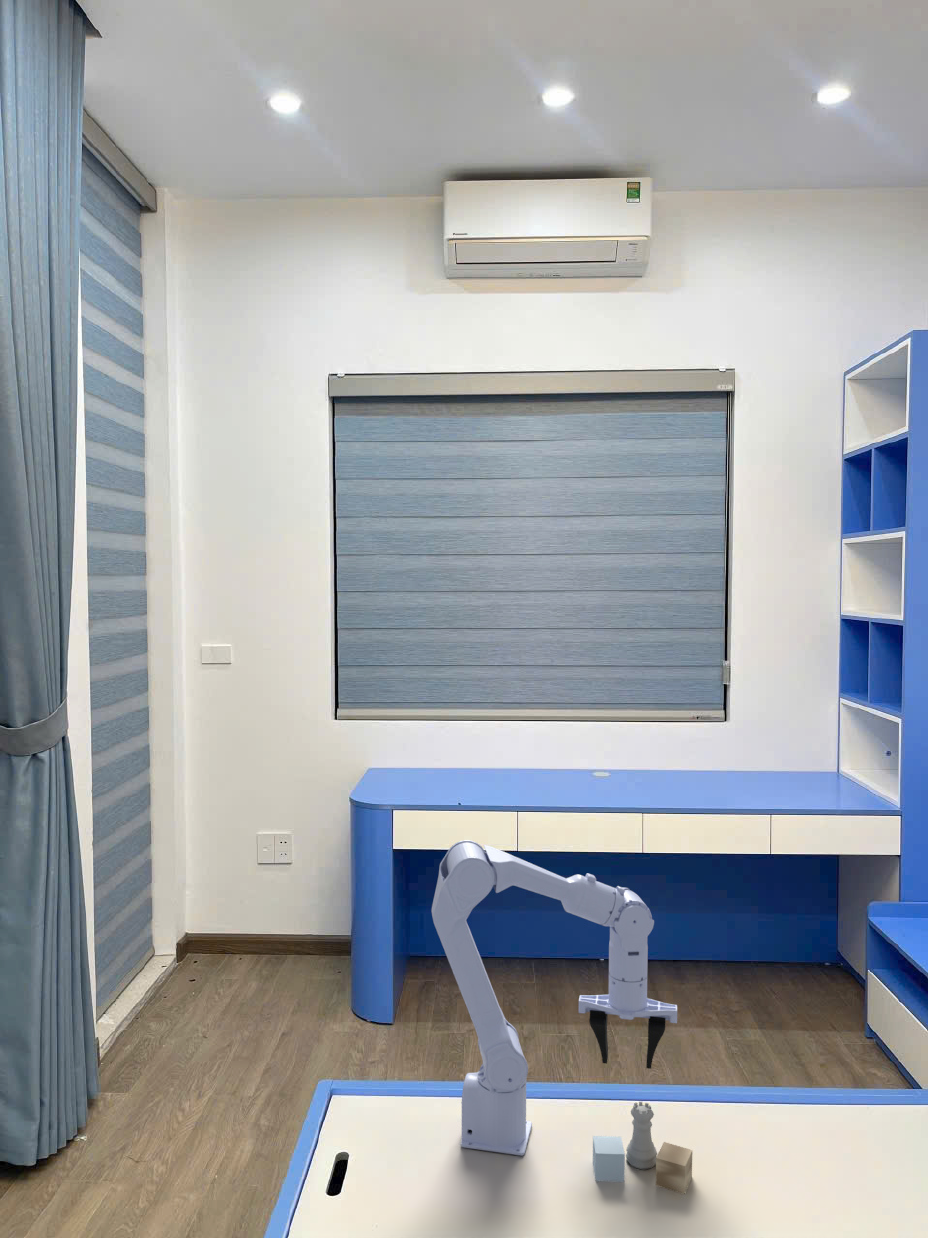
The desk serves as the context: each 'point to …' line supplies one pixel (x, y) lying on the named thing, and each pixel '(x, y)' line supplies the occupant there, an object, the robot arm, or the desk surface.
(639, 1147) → the rook chess piece
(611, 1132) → the desk surface
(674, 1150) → the beech block
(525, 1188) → the desk surface
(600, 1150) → the pale blue block
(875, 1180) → the desk surface
